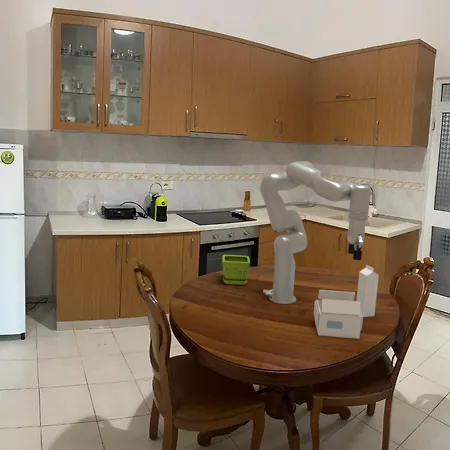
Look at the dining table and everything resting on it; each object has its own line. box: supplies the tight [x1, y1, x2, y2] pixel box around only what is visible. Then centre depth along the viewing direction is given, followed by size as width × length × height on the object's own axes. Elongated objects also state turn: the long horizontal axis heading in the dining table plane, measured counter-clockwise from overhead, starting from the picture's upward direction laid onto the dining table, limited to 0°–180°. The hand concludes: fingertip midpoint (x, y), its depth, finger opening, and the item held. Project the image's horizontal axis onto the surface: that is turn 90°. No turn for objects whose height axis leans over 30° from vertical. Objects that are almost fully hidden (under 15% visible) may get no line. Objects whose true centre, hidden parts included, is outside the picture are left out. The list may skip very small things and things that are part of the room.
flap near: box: [321, 299, 360, 315], centre depth 191 cm, size 15×5×1 cm
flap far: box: [317, 289, 356, 301], centre depth 204 cm, size 15×5×1 cm
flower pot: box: [221, 254, 251, 286], centre depth 253 cm, size 14×14×13 cm
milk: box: [356, 264, 380, 318], centre depth 215 cm, size 6×6×22 cm
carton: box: [313, 299, 364, 340], centre depth 199 cm, size 17×16×9 cm
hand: (354, 256), depth 201 cm, fingers open, 9 cm apart
